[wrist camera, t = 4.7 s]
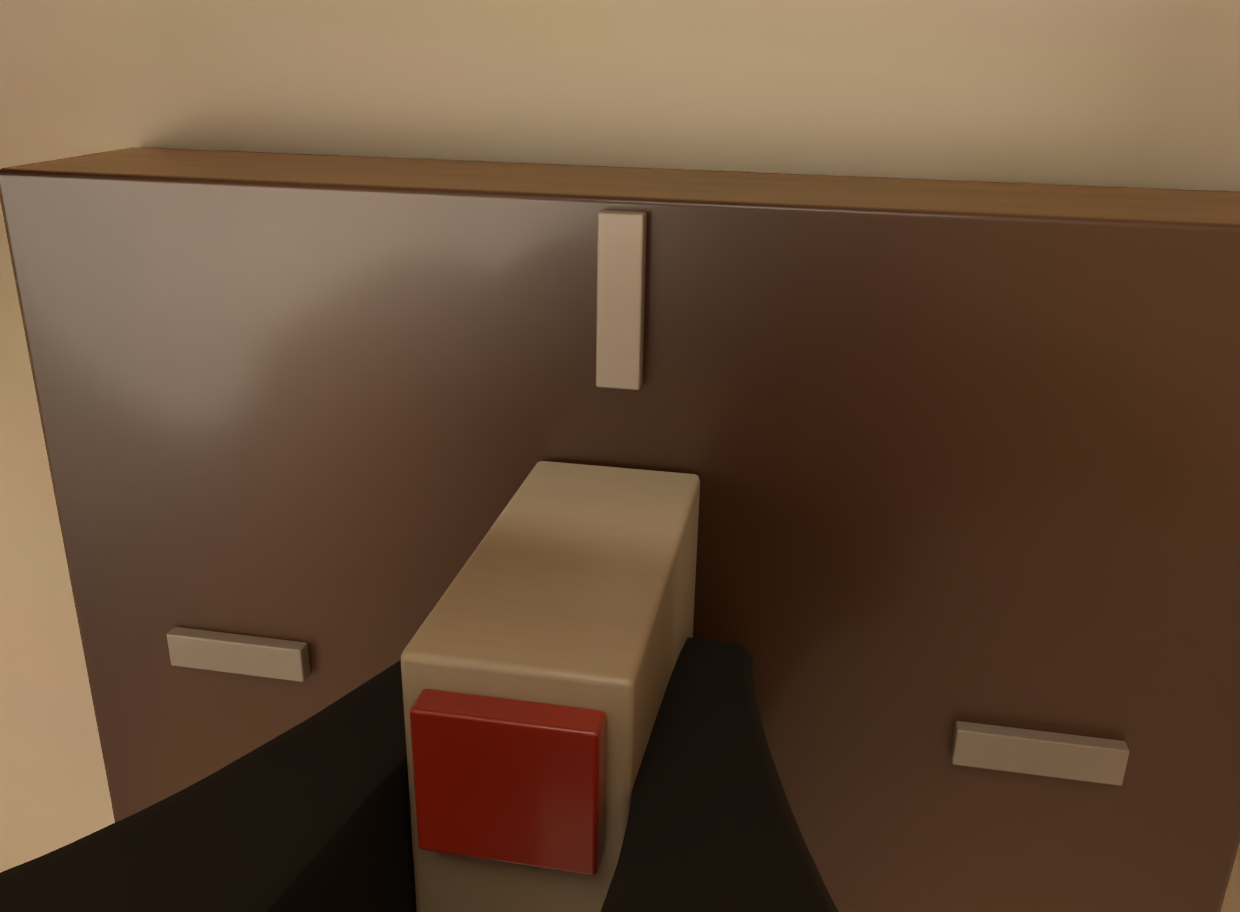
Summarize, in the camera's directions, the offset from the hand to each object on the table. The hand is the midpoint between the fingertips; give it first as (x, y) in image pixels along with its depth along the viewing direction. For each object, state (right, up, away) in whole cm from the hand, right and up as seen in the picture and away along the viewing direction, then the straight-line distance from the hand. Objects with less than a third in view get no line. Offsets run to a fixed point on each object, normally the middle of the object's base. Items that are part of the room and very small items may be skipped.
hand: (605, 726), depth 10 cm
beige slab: (0, 0, 0) cm, 0 cm away
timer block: (+1, +1, +2) cm, 2 cm away
